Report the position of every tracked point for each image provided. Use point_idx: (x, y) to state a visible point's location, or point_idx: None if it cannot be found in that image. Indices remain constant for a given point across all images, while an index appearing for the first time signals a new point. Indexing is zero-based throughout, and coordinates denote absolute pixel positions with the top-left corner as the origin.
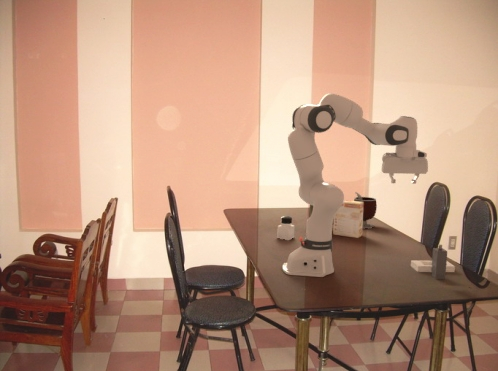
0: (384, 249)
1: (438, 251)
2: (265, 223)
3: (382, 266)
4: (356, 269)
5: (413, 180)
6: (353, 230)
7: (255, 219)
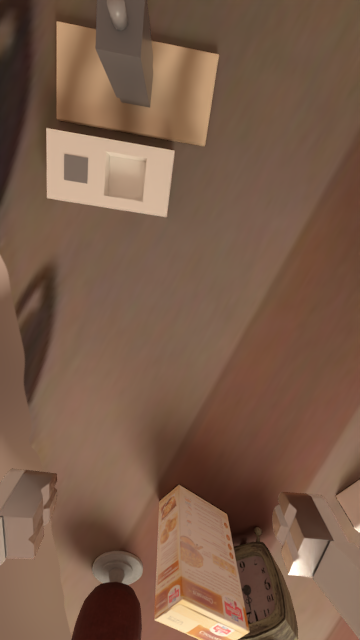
0: (155, 393)
1: None
2: None
3: (235, 253)
4: (321, 236)
5: (32, 508)
6: (190, 507)
7: None
